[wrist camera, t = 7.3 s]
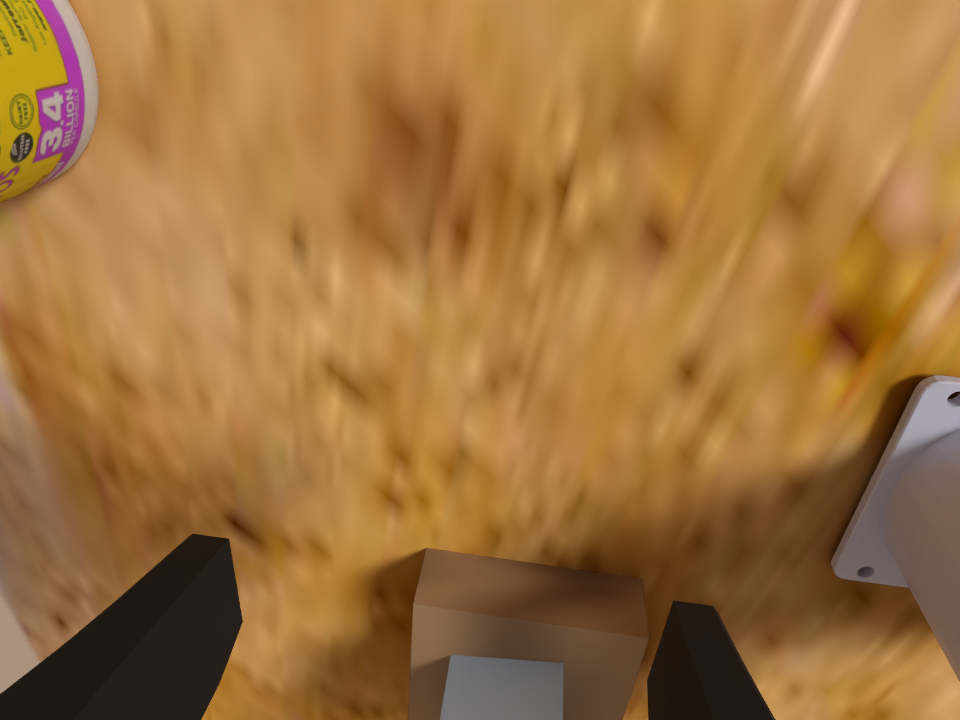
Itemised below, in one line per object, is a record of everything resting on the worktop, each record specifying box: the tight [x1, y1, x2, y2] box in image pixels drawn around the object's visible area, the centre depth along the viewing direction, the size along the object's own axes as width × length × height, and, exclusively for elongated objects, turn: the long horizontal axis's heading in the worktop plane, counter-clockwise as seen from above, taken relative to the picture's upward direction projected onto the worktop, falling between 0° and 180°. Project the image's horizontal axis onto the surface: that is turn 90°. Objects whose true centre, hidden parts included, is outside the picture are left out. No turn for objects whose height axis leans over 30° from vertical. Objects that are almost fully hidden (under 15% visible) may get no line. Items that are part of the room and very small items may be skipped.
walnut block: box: [408, 548, 649, 720], centre depth 26 cm, size 8×8×3 cm
